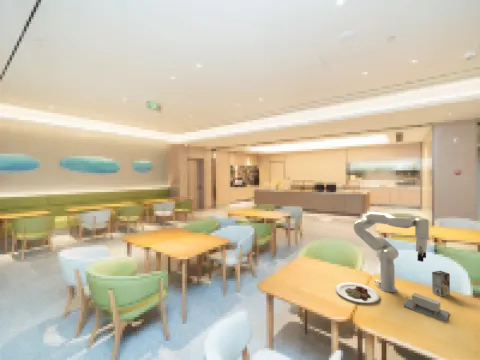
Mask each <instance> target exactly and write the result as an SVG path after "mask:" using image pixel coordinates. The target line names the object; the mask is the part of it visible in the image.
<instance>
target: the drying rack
mask: <svg viewBox="0 0 480 360" xmlns="http://www.w3.org/2000/svg"><path fill="white" fill-rule="evenodd" d="M403 307H404V308H406V309H409V310H410V311H414V312H418V313H420V314H423V315H426V316H429V317H432V318H434V319H437V320H440V321H443V322H446V323H447V322H448V318H449V315H450V312H449V311H447V310H444V309H441V308H440V310H439V312H436V311H434V310H431V309H428V308H426V307H423V306H420V305H418V304H415V303H413V302H412V299H410V298H407V300H406V301H405V303H404V304H403Z"/></svg>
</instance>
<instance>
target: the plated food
mask: <svg viewBox="0 0 480 360" xmlns="http://www.w3.org/2000/svg"><path fill="white" fill-rule="evenodd" d="M355 286H356V287H355ZM335 291H336V292H337V294H338V295H339V296H341V297H342V298H344V299H346V300H349V301H351V302H355V303H359V304H372V303H377V302H378V301H379V300H380V297H381V296H380V294H379V293H378V291H376V290H375V289H373V287H370V286H368V285H366V284H363V283H359V282H351V281H349V282H348V281H347V282H340V283H338V284H337V285H336V286H335Z"/></svg>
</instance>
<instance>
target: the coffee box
mask: <svg viewBox="0 0 480 360" xmlns="http://www.w3.org/2000/svg"><path fill="white" fill-rule="evenodd" d="M431 275H432V277H431V278H432V279H431V281H432V283H431V284H432V285H431V286H432V287H431V288H432V290H431V292H432V293H433V294H435V295H437V296H439V297H444V296H449V295H450V294H451V292H450V291H451V289H450V288H451V283H450V278H451V277H450V276H451V275H450V273H449V272H445V271H442V270H436V271H432V272H431Z"/></svg>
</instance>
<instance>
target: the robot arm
mask: <svg viewBox="0 0 480 360" xmlns="http://www.w3.org/2000/svg"><path fill="white" fill-rule="evenodd" d="M375 224H381V225H388V226H390V227H394V228H399V229H400V228H401V229H411V228H412V227H414V228H415V229H414V231H415V233H414V235H415V237H414V238H416V243H415V251H416V252H417V261H418V262H422V263H423V262H424V259H426V258H427V246H428V243H427V241H428V240H429V237H430V235H429V230H430V229H429V228H430V226H429V225H430V223H429V219H428V218H421V217H415V216H411V215H409V216H405V217H400V216H399V217H398V216H392V215H391V214H390V213H386V212H385V213H383V212H380V211H377V210H374V211H370V212H367V214H366V215H365V218H363V219H358V220H357V221H355V223H353V231H354V233H355V235H356V236H358V237H359V238H360V239H361V240H362V241H363V243H366V245H368V246H369V248H371V249H372V250H373V251H376V252H377V251H380V252H379V262H380V263H379V264H380V266H379V267H380V274H379V275H380V279H379V280H378V279H374V282H375V284H378V286H377V287H378V288H379V289H380V290H381V291H384V292H386V293H396V292H398V288H397V287H396V286H395V285H396V283H395V282H396V281H395V278H396V277H395V272H396V269H395V262H394V261H395V260H396V259H398V258H399V251H398V249H396V247H394V246H393V245H392V244H391V243H390V242H389V241H388V240H386V239H385V238H383V237H380V236H377V237H375V235H373V234H372V233H371V232H369V231H367V229H370V228H371V227H373V226H374V225H375Z"/></svg>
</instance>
